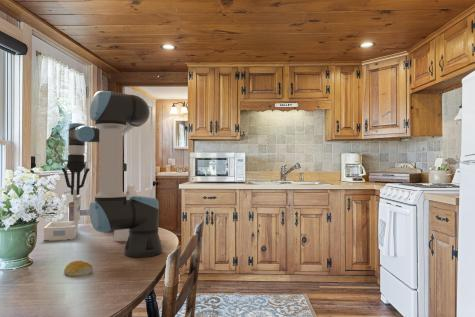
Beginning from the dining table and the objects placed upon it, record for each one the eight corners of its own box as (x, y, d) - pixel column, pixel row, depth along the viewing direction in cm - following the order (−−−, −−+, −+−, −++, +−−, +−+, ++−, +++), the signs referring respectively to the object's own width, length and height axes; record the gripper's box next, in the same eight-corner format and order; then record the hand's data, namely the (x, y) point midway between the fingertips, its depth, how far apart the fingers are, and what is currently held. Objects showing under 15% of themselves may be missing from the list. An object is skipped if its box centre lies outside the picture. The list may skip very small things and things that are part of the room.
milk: (137, 241, 168) (138, 186, 168) (113, 240, 168) (114, 185, 168) (145, 236, 180) (146, 184, 180) (122, 235, 180) (123, 184, 180)
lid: (78, 195, 186) (81, 195, 186) (77, 219, 185) (80, 219, 186) (74, 198, 170) (77, 198, 170) (73, 225, 170) (76, 225, 170)
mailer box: (50, 233, 181) (50, 222, 182) (78, 232, 186) (78, 221, 186) (43, 240, 166) (43, 227, 166) (74, 239, 170) (74, 226, 170)
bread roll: (82, 268, 126) (83, 256, 126) (96, 273, 120) (96, 261, 120) (58, 273, 120) (59, 261, 120) (71, 279, 114) (72, 266, 114)
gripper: (90, 154, 183) (89, 200, 183) (63, 153, 179) (61, 200, 179) (89, 154, 176) (88, 202, 176) (60, 153, 172) (59, 202, 172)
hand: (74, 201), depth 178 cm, fingers closed
